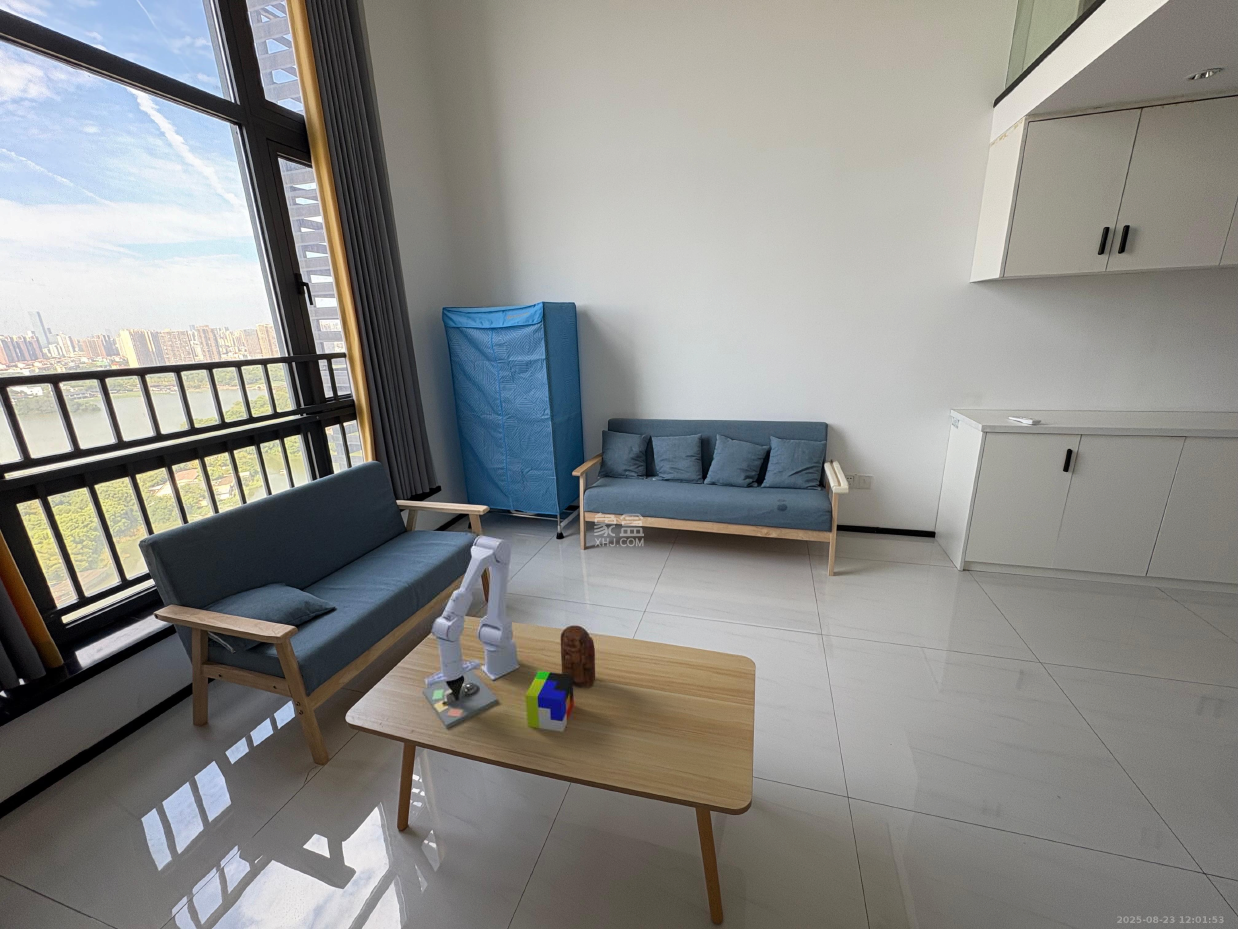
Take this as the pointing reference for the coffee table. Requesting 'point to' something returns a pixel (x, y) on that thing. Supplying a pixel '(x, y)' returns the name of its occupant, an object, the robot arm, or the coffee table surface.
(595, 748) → the coffee table surface
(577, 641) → the wooden figurine
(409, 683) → the coffee table surface
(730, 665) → the coffee table surface
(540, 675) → the puzzle toy
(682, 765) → the coffee table surface
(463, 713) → the tuner board
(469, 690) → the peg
